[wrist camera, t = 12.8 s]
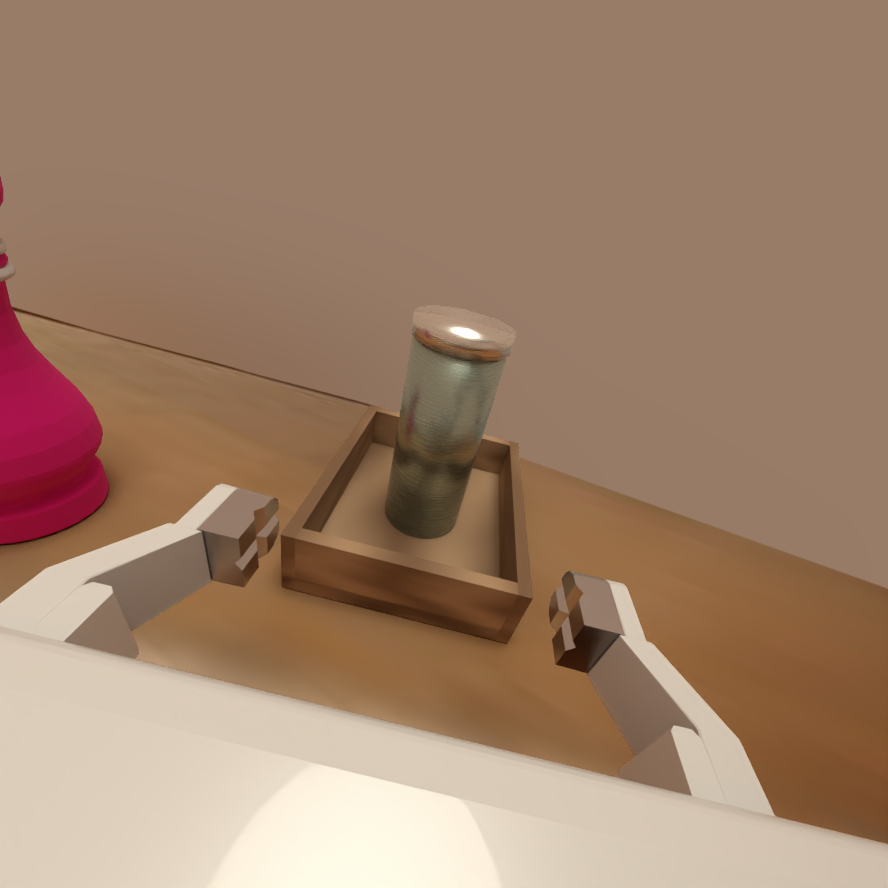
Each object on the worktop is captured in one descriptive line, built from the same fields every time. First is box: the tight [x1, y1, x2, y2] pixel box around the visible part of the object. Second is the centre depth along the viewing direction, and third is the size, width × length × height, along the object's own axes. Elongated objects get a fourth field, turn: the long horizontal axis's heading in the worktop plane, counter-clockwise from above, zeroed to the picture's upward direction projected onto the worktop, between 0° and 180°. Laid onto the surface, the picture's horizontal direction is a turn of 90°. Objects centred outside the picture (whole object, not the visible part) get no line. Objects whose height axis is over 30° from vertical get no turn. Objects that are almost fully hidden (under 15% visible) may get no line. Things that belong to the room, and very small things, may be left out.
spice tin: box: [385, 305, 516, 539], centre depth 22 cm, size 5×5×13 cm
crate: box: [281, 405, 533, 643], centre depth 25 cm, size 12×15×4 cm
